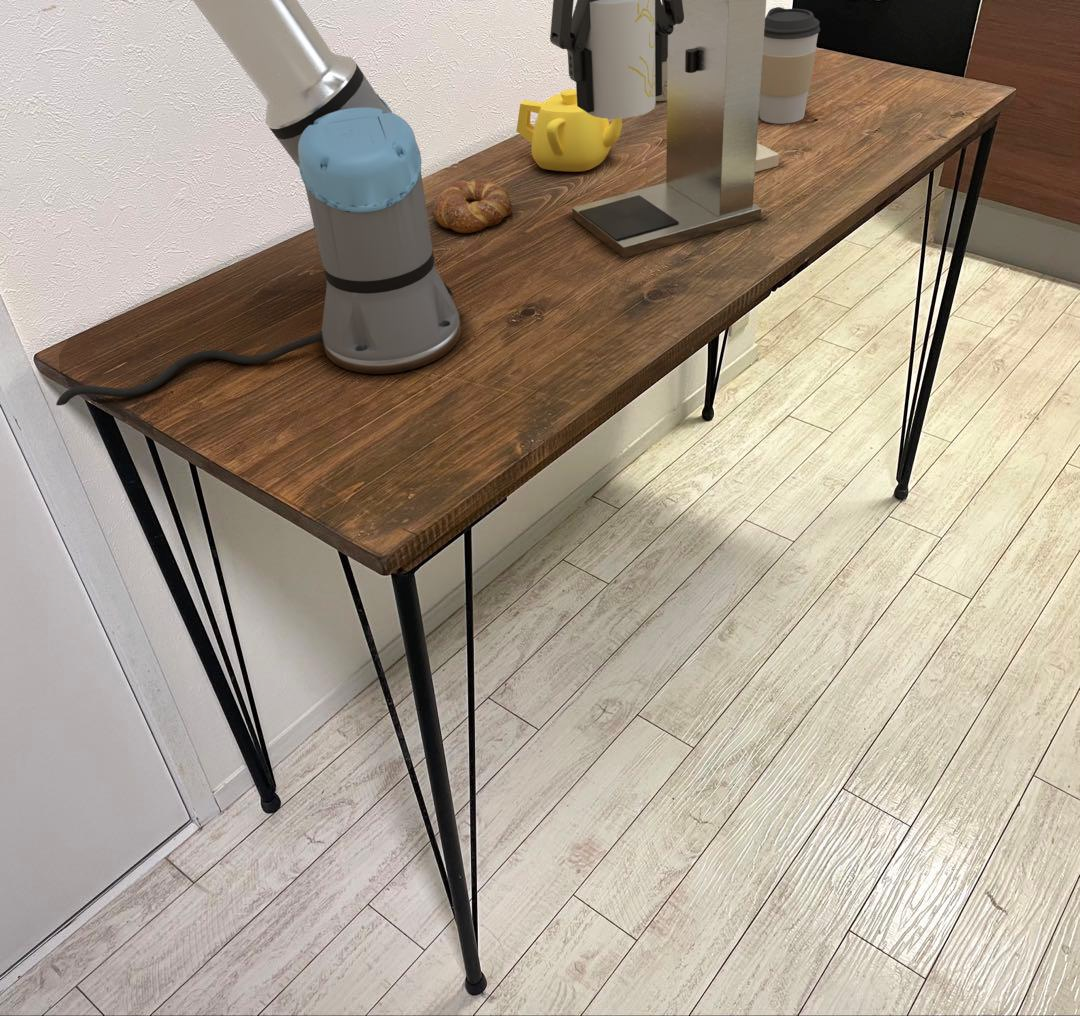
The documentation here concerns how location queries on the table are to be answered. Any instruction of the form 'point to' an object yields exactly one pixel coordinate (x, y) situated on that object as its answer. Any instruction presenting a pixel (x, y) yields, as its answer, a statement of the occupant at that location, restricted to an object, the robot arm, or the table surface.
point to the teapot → (566, 133)
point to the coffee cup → (787, 64)
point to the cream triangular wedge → (765, 158)
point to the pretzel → (471, 205)
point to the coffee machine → (697, 135)
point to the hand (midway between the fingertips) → (619, 100)
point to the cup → (622, 57)
